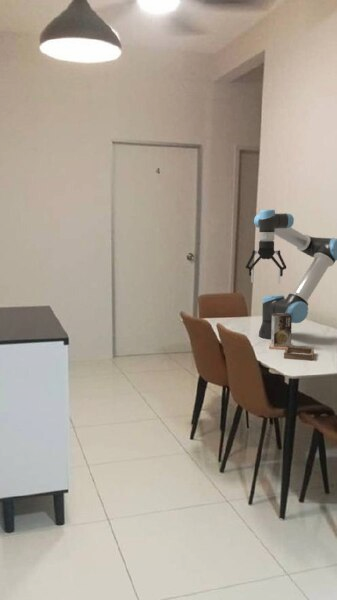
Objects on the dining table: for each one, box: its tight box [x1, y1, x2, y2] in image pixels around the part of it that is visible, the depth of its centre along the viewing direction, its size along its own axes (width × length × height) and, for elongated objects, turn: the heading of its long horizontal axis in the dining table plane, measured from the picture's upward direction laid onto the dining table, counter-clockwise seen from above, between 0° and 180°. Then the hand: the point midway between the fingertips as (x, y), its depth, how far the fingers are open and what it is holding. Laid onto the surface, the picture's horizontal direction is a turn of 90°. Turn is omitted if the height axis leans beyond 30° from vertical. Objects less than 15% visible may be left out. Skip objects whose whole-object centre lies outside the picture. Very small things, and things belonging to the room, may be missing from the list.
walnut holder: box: [283, 346, 315, 361], centre depth 248 cm, size 13×13×2 cm
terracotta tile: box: [268, 342, 294, 351], centre depth 265 cm, size 11×11×1 cm
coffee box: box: [270, 313, 293, 347], centre depth 264 cm, size 9×6×16 cm
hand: (265, 282), depth 263 cm, fingers open, 13 cm apart
